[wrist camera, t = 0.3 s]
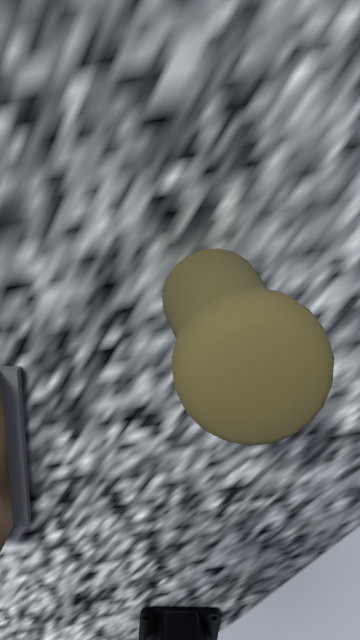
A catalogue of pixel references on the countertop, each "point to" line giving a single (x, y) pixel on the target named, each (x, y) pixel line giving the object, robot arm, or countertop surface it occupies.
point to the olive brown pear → (244, 351)
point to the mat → (16, 443)
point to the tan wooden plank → (4, 483)
